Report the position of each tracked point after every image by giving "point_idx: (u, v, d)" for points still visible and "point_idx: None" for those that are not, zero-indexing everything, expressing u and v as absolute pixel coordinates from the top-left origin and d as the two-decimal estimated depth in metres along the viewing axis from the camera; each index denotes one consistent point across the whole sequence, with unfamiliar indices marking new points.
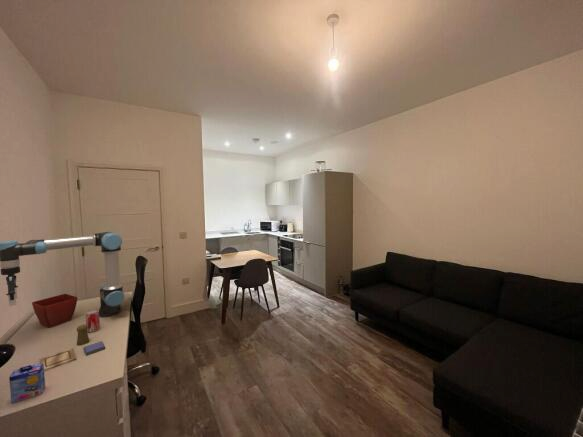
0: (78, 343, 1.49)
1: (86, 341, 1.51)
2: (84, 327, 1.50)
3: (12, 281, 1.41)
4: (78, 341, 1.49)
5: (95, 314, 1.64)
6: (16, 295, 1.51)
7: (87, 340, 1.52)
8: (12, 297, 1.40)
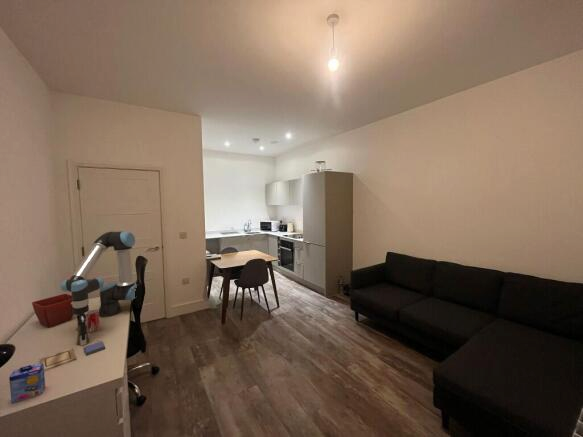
0: (78, 343, 1.49)
1: (86, 341, 1.51)
2: None
3: (84, 322, 1.47)
4: (78, 341, 1.49)
5: (95, 314, 1.64)
6: None
7: (87, 340, 1.52)
8: (83, 337, 1.48)
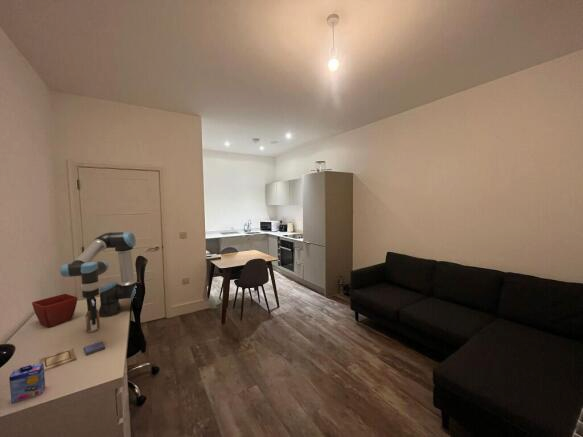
0: (88, 328, 1.41)
1: None
2: None
3: (95, 306, 1.39)
4: (88, 326, 1.41)
5: None
6: None
7: (97, 325, 1.44)
8: (94, 322, 1.40)
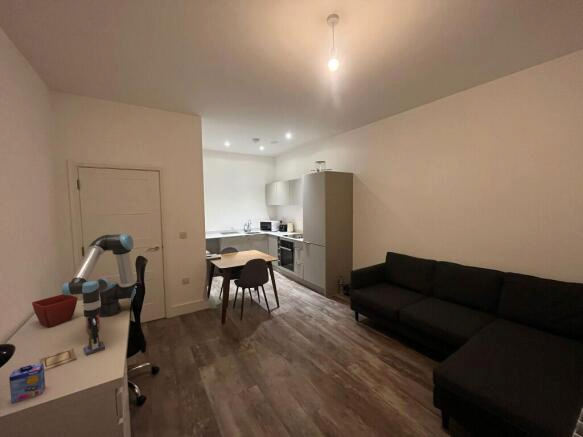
0: (89, 347, 1.42)
1: (98, 345, 1.44)
2: None
3: (96, 325, 1.40)
4: (90, 345, 1.42)
5: None
6: None
7: (99, 344, 1.45)
8: (95, 341, 1.41)
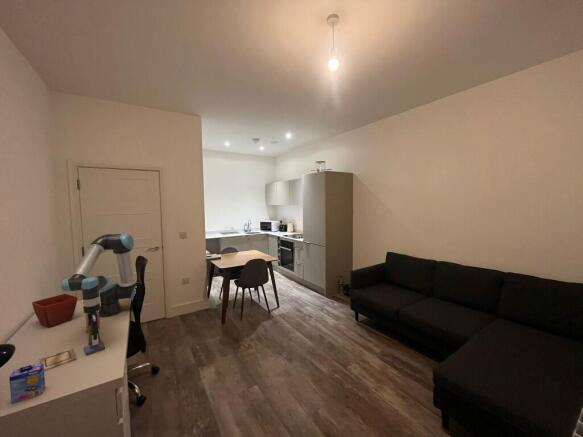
0: (90, 343, 1.42)
1: (98, 341, 1.44)
2: None
3: (96, 322, 1.40)
4: (90, 341, 1.42)
5: None
6: None
7: (99, 340, 1.45)
8: (95, 337, 1.41)
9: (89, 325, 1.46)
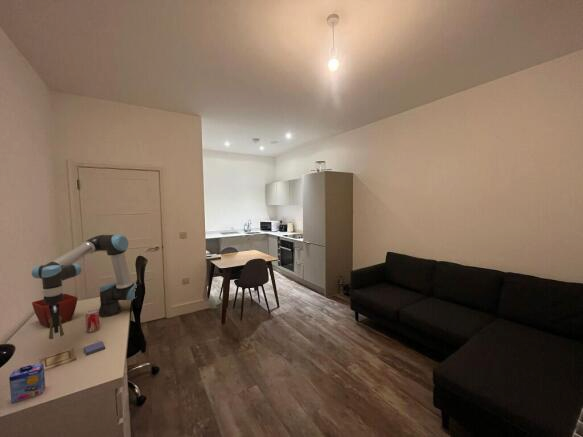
0: (50, 336, 1.31)
1: (60, 334, 1.33)
2: None
3: (57, 313, 1.29)
4: (50, 334, 1.31)
5: (95, 314, 1.64)
6: None
7: (61, 333, 1.34)
8: (56, 330, 1.30)
9: None
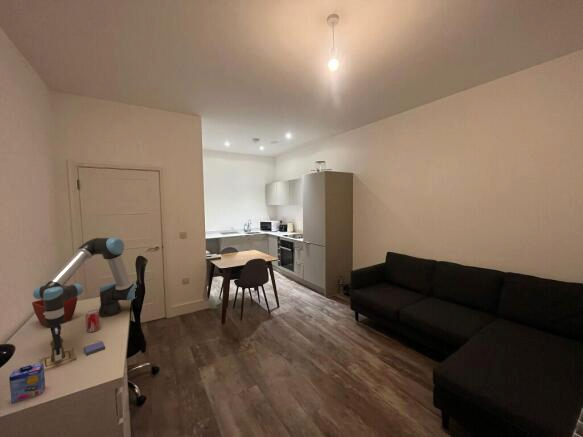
0: (52, 359, 1.32)
1: None
2: None
3: (58, 334, 1.30)
4: (52, 357, 1.32)
5: (95, 314, 1.64)
6: None
7: (63, 355, 1.35)
8: (58, 352, 1.30)
9: (52, 336, 1.37)
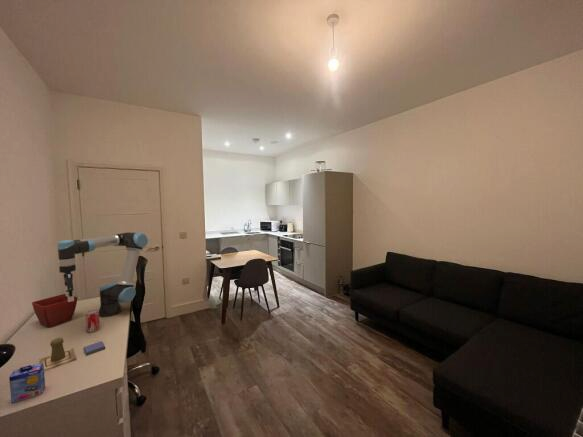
0: (52, 359, 1.32)
1: (61, 357, 1.34)
2: (59, 341, 1.33)
3: (71, 278, 1.48)
4: (52, 357, 1.32)
5: (95, 314, 1.64)
6: None
7: (63, 355, 1.35)
8: (71, 293, 1.48)
9: (65, 282, 1.57)
